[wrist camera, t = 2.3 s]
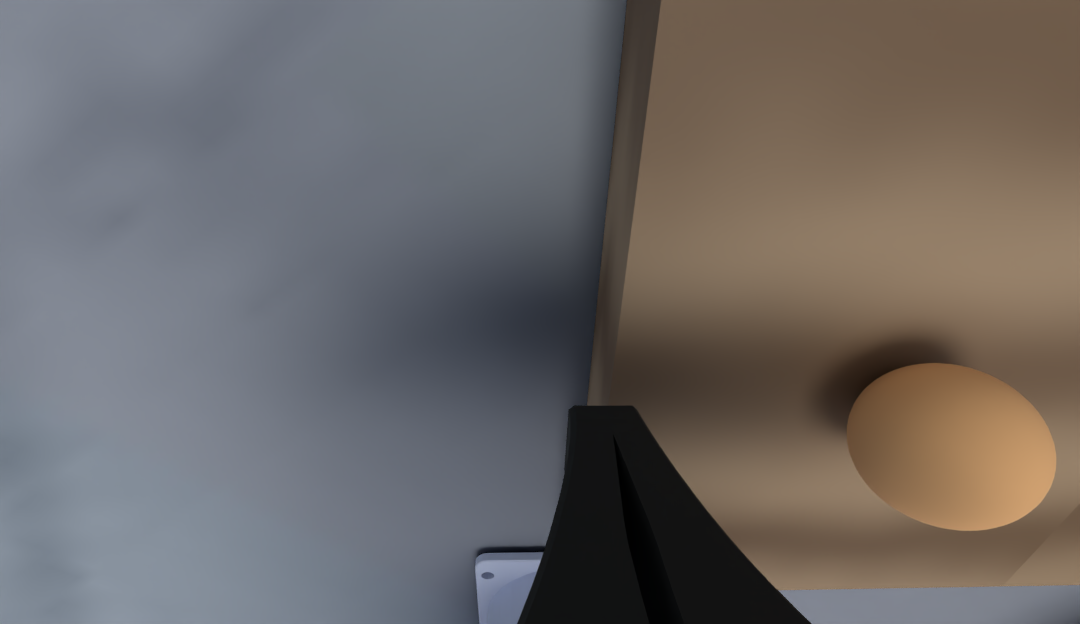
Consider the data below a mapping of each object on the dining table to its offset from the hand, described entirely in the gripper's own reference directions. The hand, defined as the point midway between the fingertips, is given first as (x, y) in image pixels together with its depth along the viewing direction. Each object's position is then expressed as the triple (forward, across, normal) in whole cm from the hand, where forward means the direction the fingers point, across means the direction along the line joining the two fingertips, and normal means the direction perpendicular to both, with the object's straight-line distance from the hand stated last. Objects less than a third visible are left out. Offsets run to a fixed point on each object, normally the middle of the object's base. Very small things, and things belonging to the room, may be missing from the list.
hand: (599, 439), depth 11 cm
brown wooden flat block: (+5, -12, 0) cm, 12 cm away
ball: (0, -8, 0) cm, 8 cm away
